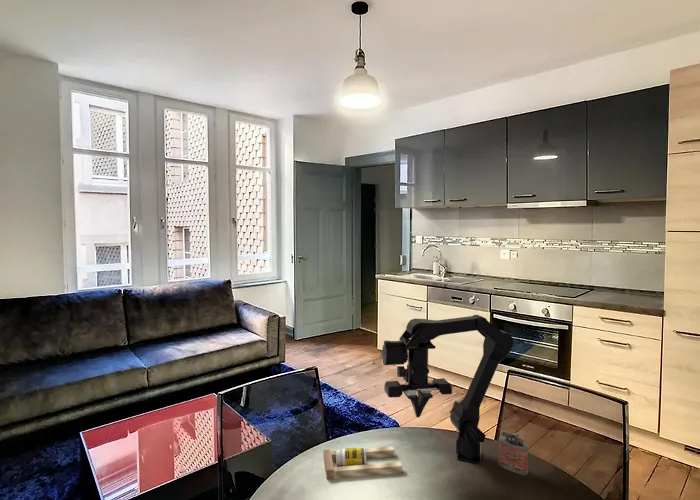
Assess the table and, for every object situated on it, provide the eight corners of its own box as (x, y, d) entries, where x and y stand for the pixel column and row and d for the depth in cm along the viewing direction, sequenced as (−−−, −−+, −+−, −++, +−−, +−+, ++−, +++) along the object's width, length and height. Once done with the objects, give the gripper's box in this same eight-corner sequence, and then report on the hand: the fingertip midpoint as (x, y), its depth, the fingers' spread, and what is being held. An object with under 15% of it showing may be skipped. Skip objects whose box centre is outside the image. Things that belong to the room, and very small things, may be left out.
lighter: (529, 471, 115) (530, 436, 115) (525, 476, 112) (525, 440, 112) (501, 460, 120) (501, 426, 120) (496, 465, 118) (496, 431, 118)
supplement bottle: (366, 457, 115) (336, 458, 114) (366, 470, 117) (336, 471, 116) (365, 443, 119) (336, 444, 119) (364, 456, 121) (335, 457, 121)
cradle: (392, 452, 125) (392, 444, 125) (402, 472, 114) (402, 463, 114) (323, 458, 122) (323, 449, 122) (326, 479, 111) (326, 470, 111)
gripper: (438, 354, 129) (438, 403, 129) (380, 356, 126) (380, 407, 127) (453, 365, 118) (452, 419, 118) (389, 368, 115) (388, 423, 115)
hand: (417, 416), depth 120 cm, fingers closed
